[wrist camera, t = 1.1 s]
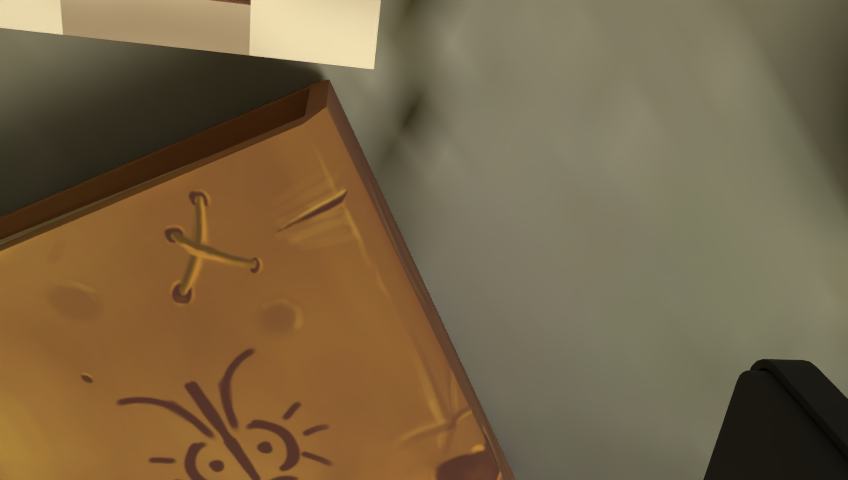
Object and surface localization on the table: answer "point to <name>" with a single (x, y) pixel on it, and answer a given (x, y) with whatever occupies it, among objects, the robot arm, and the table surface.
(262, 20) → the beige flat block
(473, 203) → the table surface
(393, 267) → the diary
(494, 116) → the table surface
